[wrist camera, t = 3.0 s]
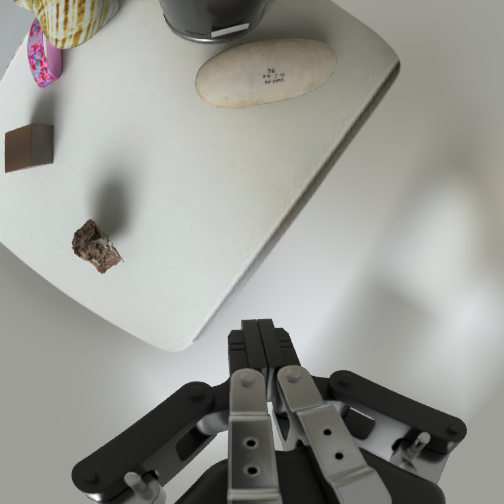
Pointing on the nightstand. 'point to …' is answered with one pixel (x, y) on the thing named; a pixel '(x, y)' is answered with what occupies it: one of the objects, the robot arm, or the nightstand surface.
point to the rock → (95, 247)
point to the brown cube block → (28, 147)
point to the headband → (43, 57)
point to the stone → (265, 72)
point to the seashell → (70, 19)
